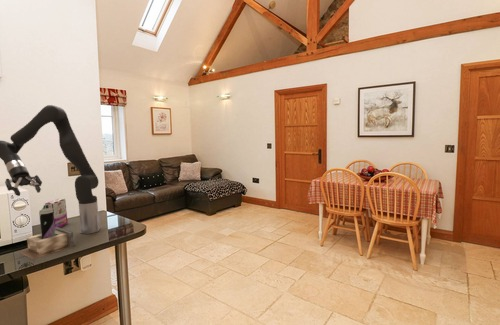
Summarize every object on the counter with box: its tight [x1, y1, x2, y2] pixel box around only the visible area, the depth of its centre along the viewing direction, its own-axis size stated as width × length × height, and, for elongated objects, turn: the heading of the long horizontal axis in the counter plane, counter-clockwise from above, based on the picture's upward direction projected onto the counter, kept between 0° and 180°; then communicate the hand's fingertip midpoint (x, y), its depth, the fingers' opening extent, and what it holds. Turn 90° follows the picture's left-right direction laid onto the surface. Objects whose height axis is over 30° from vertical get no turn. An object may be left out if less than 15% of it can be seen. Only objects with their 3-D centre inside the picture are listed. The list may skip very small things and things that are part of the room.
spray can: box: [38, 204, 56, 239], centre depth 133 cm, size 6×6×20 cm
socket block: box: [26, 230, 68, 255], centre depth 133 cm, size 12×12×6 cm
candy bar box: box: [44, 198, 69, 228], centre depth 167 cm, size 11×5×16 cm, turn 179°
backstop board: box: [17, 227, 75, 260], centre depth 132 cm, size 17×17×8 cm
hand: (29, 193), depth 141 cm, fingers open, 8 cm apart
